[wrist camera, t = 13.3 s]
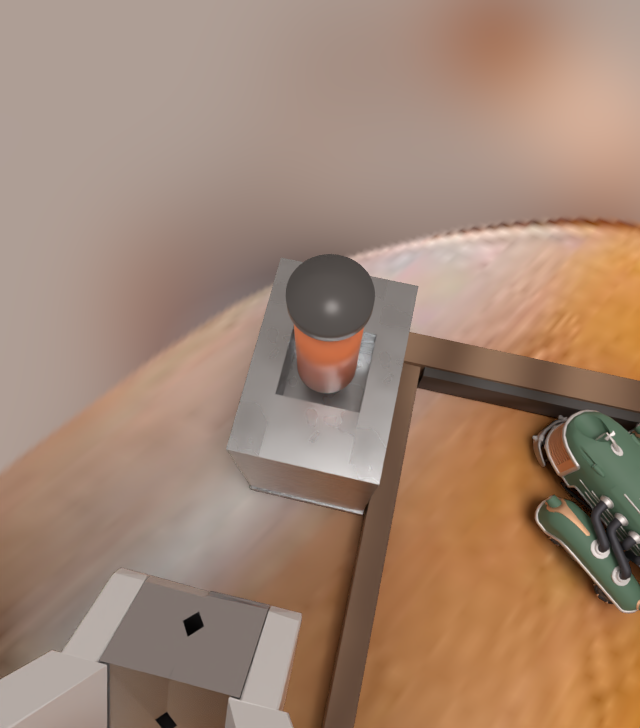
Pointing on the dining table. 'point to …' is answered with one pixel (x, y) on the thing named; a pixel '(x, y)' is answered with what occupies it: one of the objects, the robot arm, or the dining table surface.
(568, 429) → the hoverbike
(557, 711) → the dining table surface
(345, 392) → the grey holder box
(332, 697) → the brown flat square frame
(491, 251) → the dining table surface
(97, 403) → the dining table surface
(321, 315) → the orange and black cylinder
